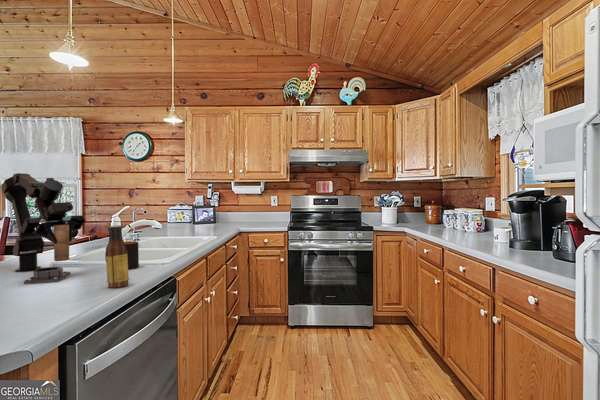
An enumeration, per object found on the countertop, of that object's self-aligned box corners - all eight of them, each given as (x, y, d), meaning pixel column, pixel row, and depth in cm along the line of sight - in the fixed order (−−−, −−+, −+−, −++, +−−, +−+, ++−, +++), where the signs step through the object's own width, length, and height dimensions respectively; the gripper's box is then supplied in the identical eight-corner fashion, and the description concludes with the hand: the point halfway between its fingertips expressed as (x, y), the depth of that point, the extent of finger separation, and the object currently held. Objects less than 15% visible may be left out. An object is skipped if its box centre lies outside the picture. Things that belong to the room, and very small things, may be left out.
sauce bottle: (132, 283, 117) (131, 225, 117) (123, 288, 111) (122, 226, 111) (112, 283, 117) (111, 225, 117) (102, 288, 111) (101, 227, 111)
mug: (105, 268, 141) (104, 243, 141) (137, 265, 147) (137, 240, 147) (106, 272, 134) (105, 245, 134) (139, 268, 140) (139, 243, 140)
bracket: (39, 276, 128) (39, 266, 128) (70, 274, 131) (70, 264, 131) (23, 284, 117) (23, 273, 117) (58, 281, 120) (58, 271, 120)
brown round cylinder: (57, 258, 125) (57, 224, 125) (71, 258, 126) (71, 224, 126) (51, 261, 121) (51, 225, 120) (65, 261, 122) (65, 225, 121)
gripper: (24, 194, 117) (40, 229, 111) (82, 194, 133) (99, 225, 127) (14, 216, 121) (29, 251, 116) (72, 213, 137) (87, 244, 132)
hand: (63, 242), depth 123 cm, fingers closed on brown round cylinder, 4 cm apart
